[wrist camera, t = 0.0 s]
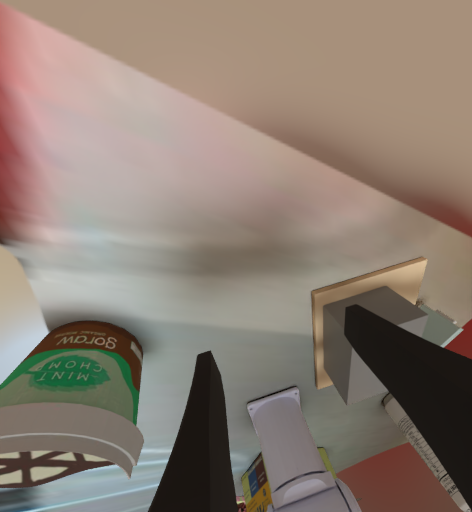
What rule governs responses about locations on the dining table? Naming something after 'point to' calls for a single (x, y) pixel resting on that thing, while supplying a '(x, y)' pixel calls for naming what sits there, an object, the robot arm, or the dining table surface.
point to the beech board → (396, 278)
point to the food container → (71, 405)
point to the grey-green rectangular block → (439, 327)
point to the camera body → (342, 353)
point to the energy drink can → (423, 449)
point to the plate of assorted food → (241, 504)
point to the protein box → (266, 483)
